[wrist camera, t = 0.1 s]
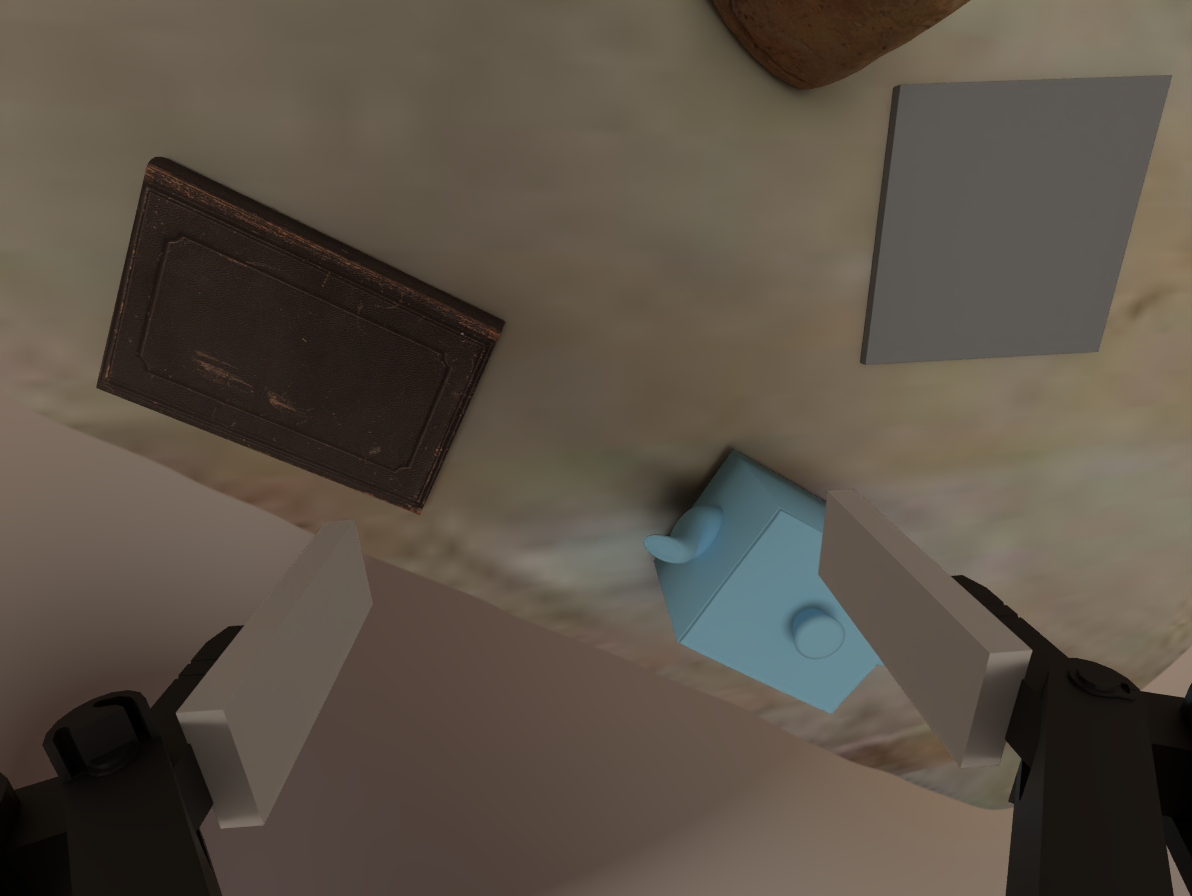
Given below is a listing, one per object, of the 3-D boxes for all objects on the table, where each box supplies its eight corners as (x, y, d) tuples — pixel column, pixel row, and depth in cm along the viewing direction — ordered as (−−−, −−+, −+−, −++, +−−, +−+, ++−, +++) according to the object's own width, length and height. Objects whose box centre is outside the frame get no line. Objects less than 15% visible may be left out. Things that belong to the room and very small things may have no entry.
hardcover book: (425, 502, 46) (419, 515, 44) (119, 379, 42) (95, 388, 39) (506, 320, 42) (503, 324, 40) (172, 158, 37) (148, 154, 35)
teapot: (877, 527, 49) (990, 633, 36) (797, 623, 52) (875, 753, 39) (661, 403, 44) (704, 474, 31) (587, 517, 47) (598, 626, 34)
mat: (893, 87, 38) (900, 84, 37) (1160, 77, 38) (1172, 75, 38) (860, 362, 44) (865, 364, 43) (1089, 349, 45) (1098, 351, 44)
